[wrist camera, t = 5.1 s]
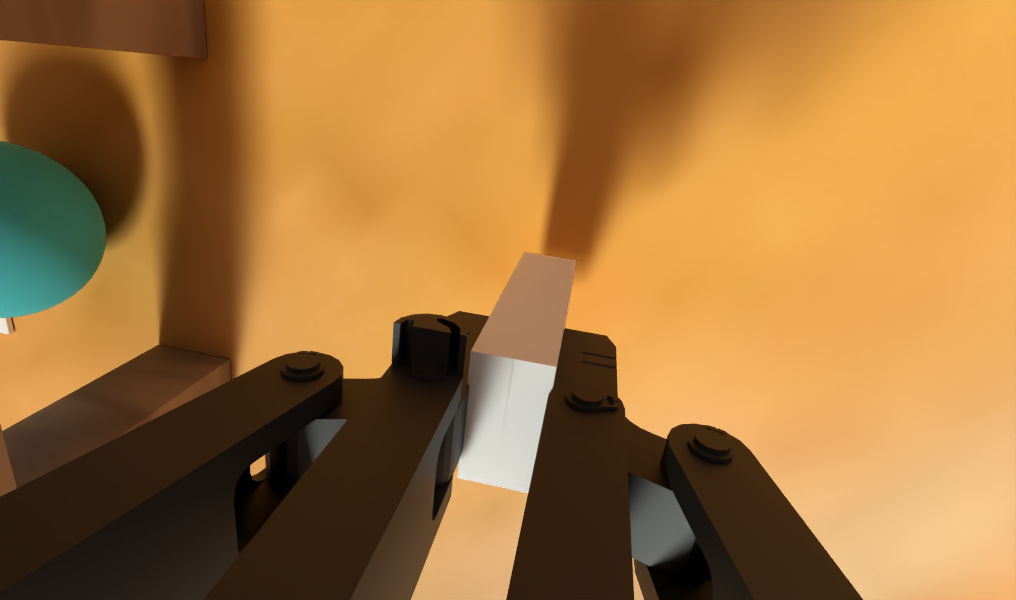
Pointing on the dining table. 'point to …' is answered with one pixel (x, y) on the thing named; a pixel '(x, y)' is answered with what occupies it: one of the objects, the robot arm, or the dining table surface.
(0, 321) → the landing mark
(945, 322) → the dining table surface
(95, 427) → the bridge
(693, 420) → the dining table surface
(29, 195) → the ball
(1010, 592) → the dining table surface
